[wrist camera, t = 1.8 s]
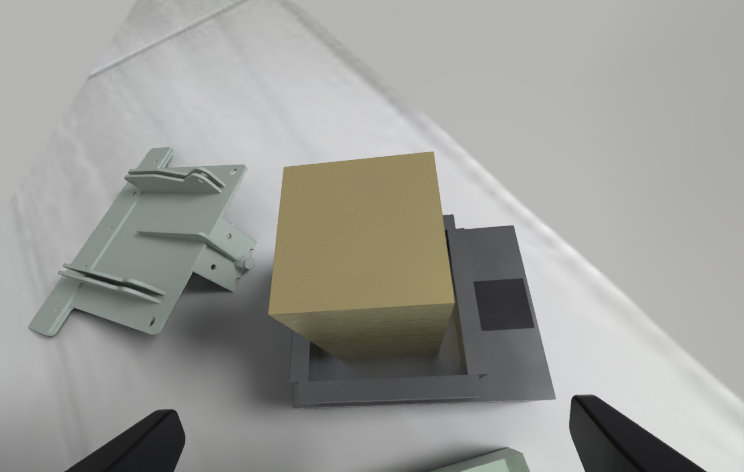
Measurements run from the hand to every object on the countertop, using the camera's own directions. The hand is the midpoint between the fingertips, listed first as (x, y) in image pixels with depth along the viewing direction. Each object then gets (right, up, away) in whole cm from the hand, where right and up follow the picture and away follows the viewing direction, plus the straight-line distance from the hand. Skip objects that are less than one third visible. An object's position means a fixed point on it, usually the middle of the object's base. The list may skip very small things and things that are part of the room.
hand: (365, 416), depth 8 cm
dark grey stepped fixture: (+3, -1, +12) cm, 12 cm away
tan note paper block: (+1, 0, +9) cm, 9 cm away
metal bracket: (-14, +3, +17) cm, 22 cm away
